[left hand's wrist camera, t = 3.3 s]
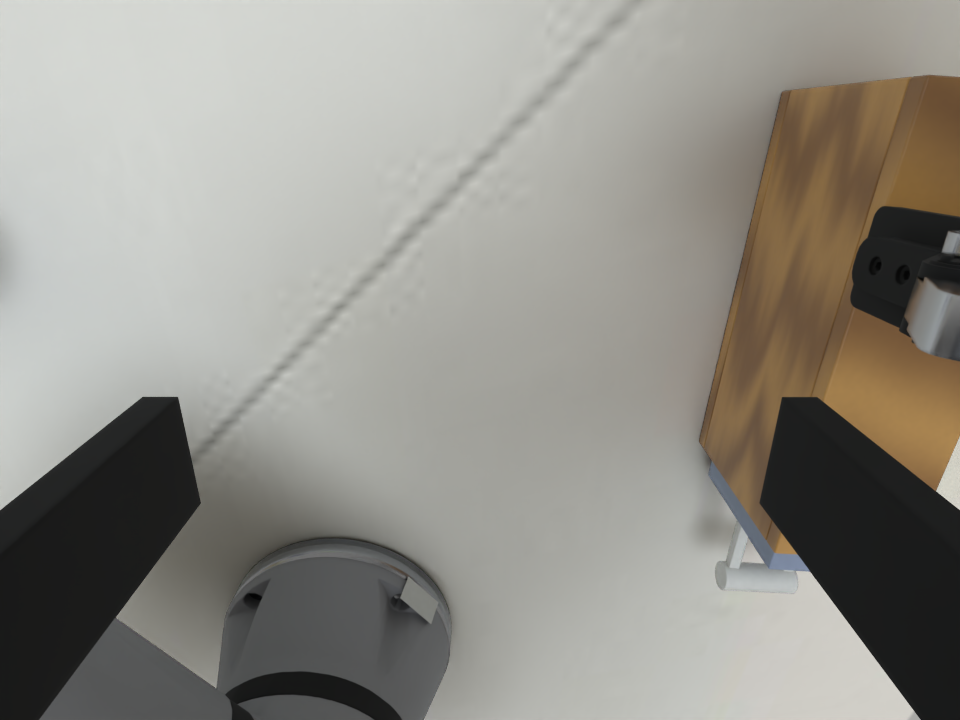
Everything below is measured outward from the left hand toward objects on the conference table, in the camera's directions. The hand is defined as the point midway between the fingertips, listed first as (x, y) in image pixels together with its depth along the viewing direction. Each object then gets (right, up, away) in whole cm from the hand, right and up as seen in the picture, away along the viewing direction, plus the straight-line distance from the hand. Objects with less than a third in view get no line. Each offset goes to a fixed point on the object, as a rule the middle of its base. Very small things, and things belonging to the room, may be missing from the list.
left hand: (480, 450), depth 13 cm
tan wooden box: (+17, +6, +19) cm, 26 cm away
